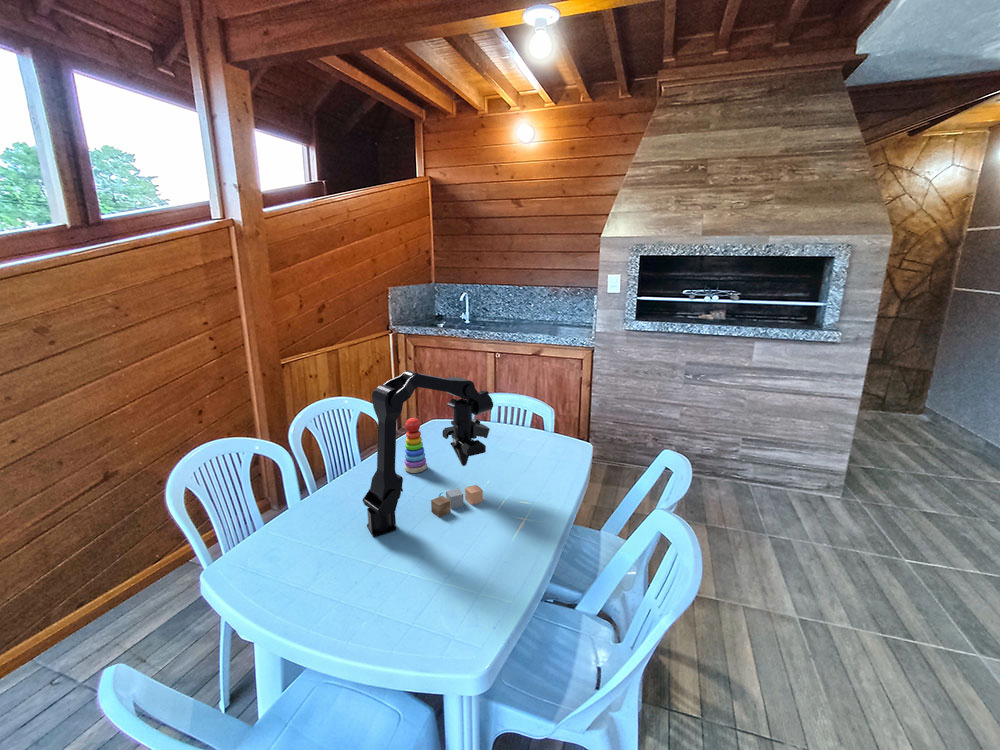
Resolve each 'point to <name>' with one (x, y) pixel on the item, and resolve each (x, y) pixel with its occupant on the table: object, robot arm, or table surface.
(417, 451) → the stacking toy
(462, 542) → the table surface
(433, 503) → the walnut cube
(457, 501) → the slate block
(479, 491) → the terracotta block
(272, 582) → the table surface
